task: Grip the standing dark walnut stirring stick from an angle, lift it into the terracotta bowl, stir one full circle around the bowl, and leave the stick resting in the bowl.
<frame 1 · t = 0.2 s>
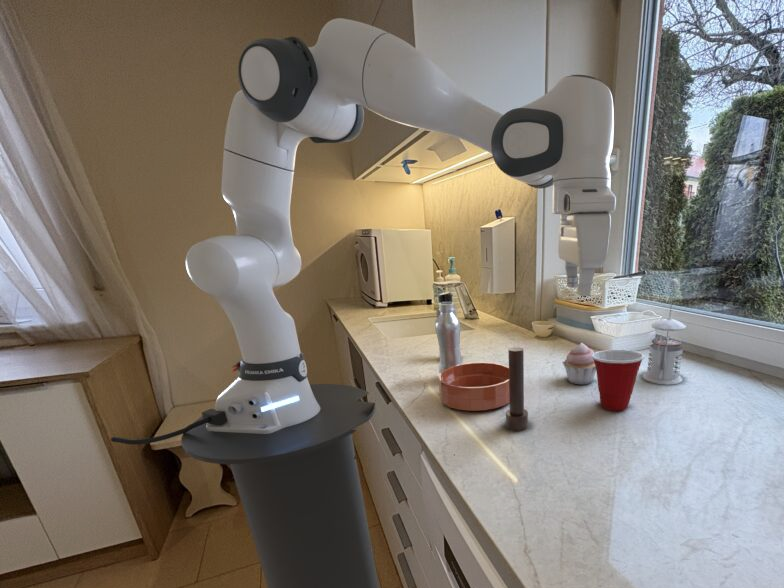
hand: (577, 291, 69), 27 cm above the worktop, tool pointing down, fingers open, 8 cm apart
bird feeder: (661, 379, 105), on the worktop
plastic cup: (613, 406, 91), on the worktop
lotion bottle: (450, 359, 124), on the worktop
bowl: (478, 398, 96), on the worktop
stirring stick: (517, 426, 82), on the worktop
cupcake: (580, 381, 105), on the worktop
plastic bottle: (452, 380, 107), on the worktop
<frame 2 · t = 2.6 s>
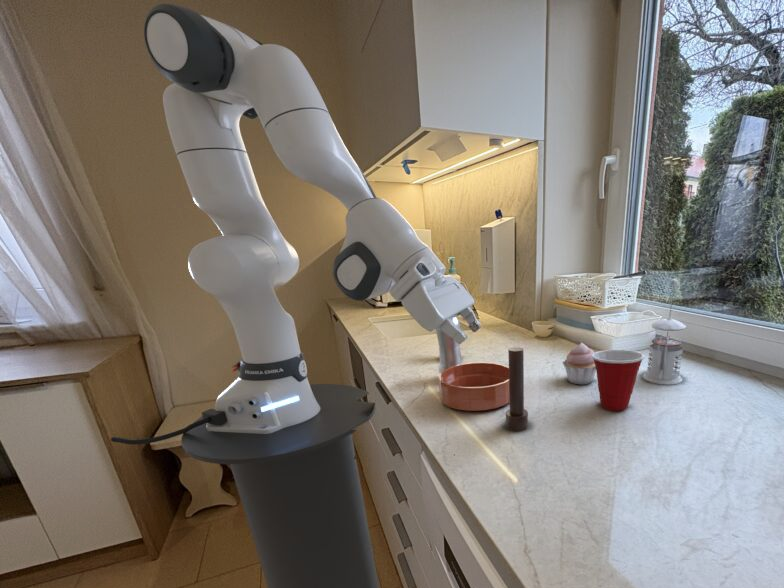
hand: (471, 335, 77), 18 cm above the worktop, tool tilted 40°, fingers open, 8 cm apart
nothing on the worktop moved.
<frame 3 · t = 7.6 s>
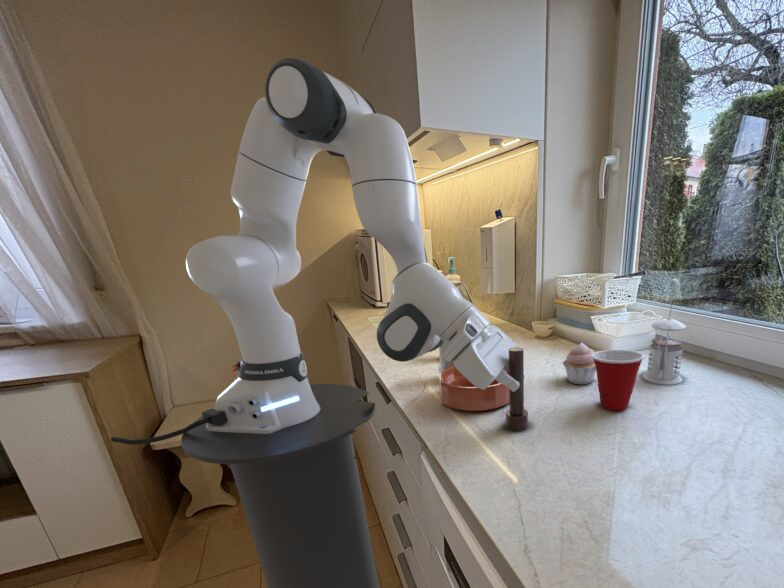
hand: (519, 384, 79), 9 cm above the worktop, tool tilted 45°, fingers closed on stirring stick, 3 cm apart
stirring stick: (517, 426, 82), on the worktop, touching gripper
everything else where it was.
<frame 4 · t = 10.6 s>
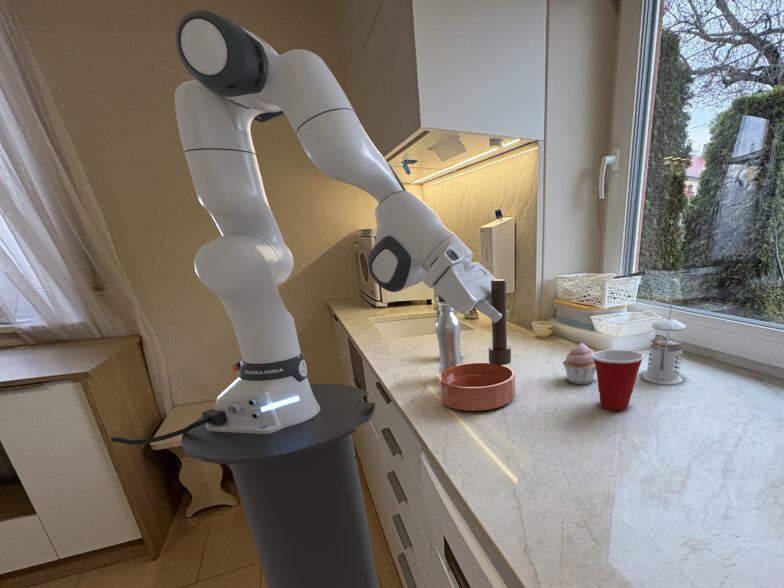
hand: (502, 317, 79), 21 cm above the worktop, tool tilted 45°, fingers closed on stirring stick, 3 cm apart
stirring stick: (500, 361, 82), point 12 cm above the worktop, touching gripper
everything else where it was.
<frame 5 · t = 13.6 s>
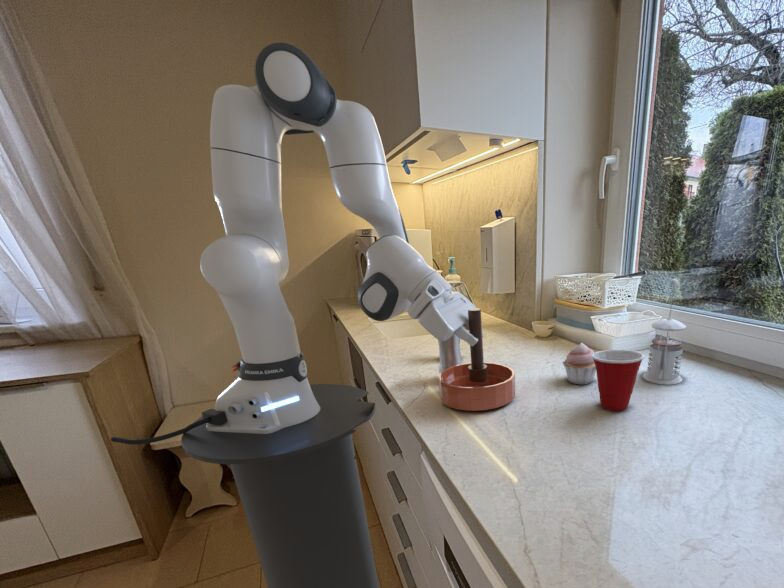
hand: (478, 341, 91), 14 cm above the worktop, tool tilted 45°, fingers closed on stirring stick, 3 cm apart
stirring stick: (478, 378, 94), point 5 cm above the worktop, touching gripper
everything else where it was.
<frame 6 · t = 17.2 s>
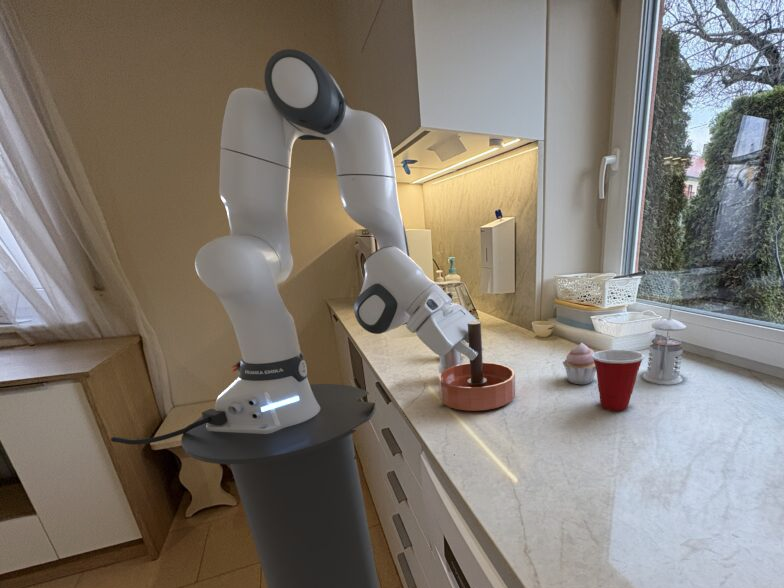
hand: (478, 354, 89), 11 cm above the worktop, tool tilted 45°, fingers closed on stirring stick, 3 cm apart
stirring stick: (477, 392, 92), point 2 cm above the worktop, touching gripper
everything else where it was.
when the fingers open (10 cm above the worktop, at t = 19.8 s): stirring stick stays where it is, resting on bowl.
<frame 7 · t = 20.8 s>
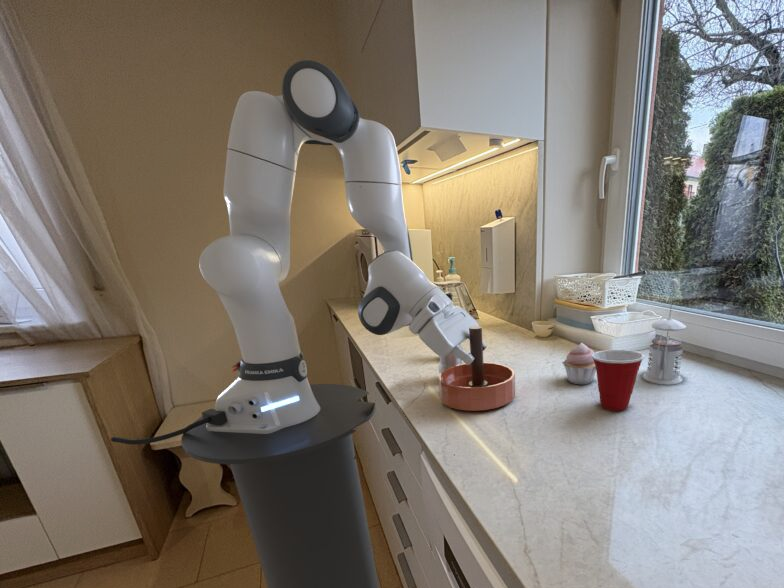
hand: (478, 355, 92), 10 cm above the worktop, tool tilted 45°, fingers open, 8 cm apart
stirring stick: (478, 394, 95), point 1 cm above the worktop, touching bowl
everything else where it was.
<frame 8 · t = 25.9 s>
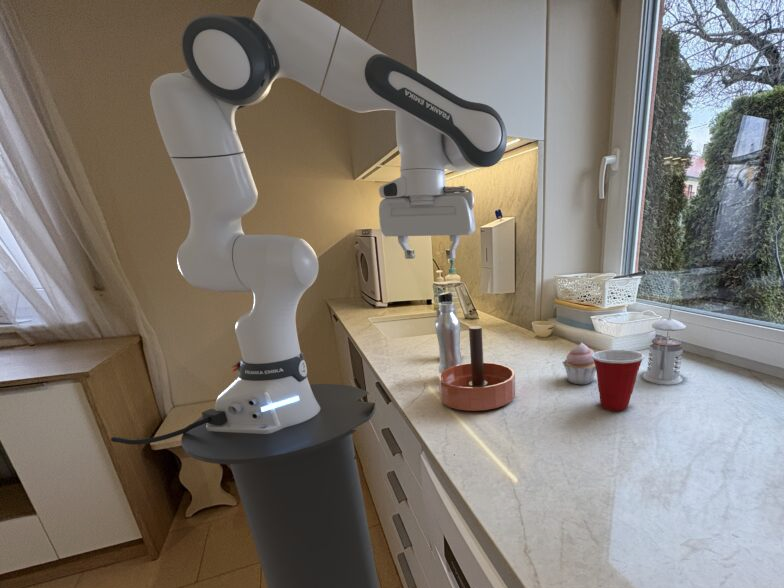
hand: (430, 258, 88), 31 cm above the worktop, tool pointing down, fingers open, 8 cm apart
nothing on the worktop moved.
at the end: stirring stick 0.2 cm from the bowl (horizontally); stirring stick moved 17.0 cm from its start; the gripper is holding nothing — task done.
